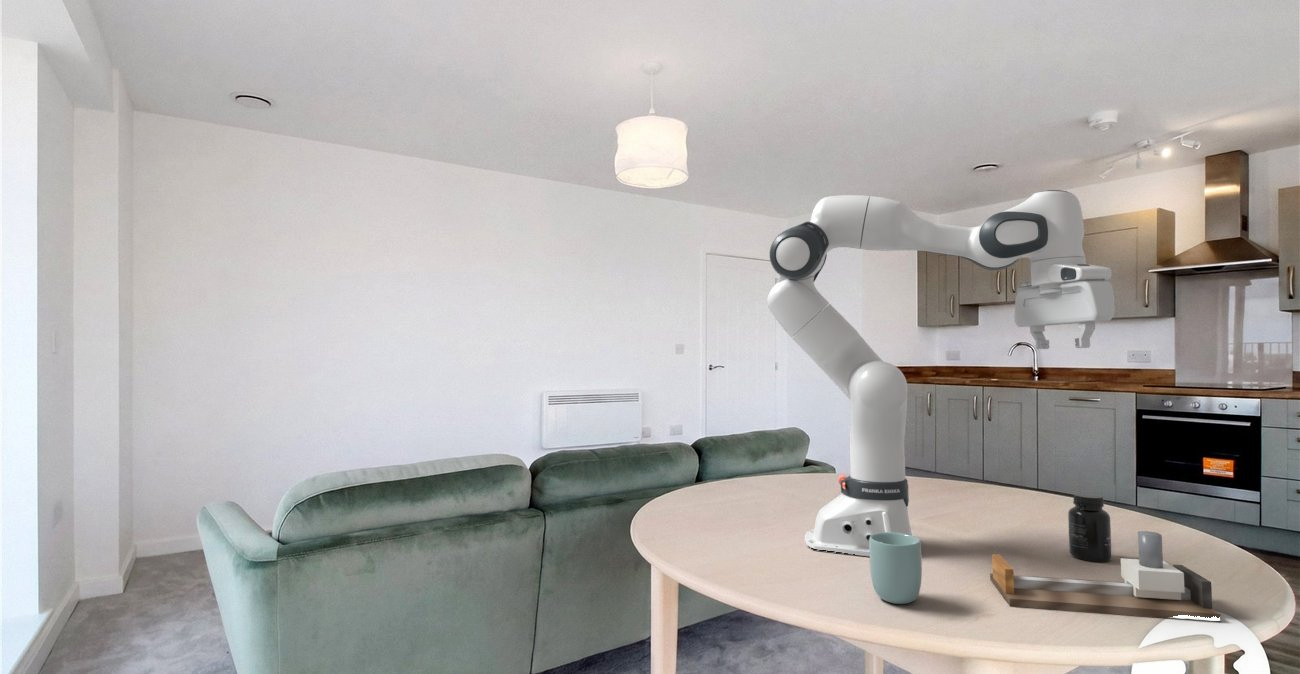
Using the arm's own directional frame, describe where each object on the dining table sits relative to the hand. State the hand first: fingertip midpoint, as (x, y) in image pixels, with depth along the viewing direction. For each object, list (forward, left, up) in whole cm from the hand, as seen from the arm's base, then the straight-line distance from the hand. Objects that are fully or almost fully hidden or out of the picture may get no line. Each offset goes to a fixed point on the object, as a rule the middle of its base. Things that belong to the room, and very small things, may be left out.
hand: (1062, 348), depth 120 cm
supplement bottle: (+6, +7, -41) cm, 42 cm away
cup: (-33, -24, -41) cm, 58 cm away
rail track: (-2, -17, -41) cm, 44 cm away
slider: (+6, -17, -39) cm, 43 cm away
